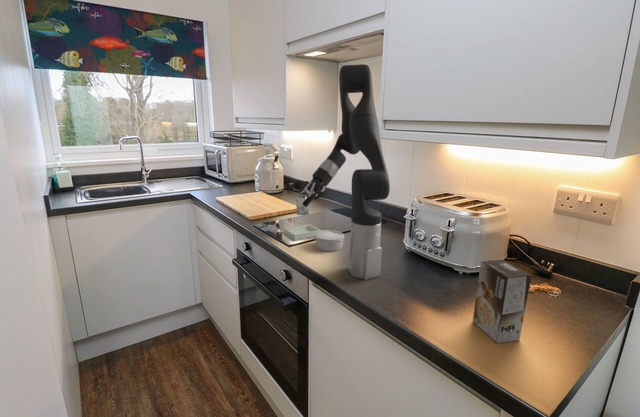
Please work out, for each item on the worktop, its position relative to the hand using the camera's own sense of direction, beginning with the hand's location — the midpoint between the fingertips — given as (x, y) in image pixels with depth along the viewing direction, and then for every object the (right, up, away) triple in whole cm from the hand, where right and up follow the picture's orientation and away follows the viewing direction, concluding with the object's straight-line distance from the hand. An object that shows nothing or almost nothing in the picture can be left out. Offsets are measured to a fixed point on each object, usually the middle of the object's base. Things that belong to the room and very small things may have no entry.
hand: (300, 204), depth 140 cm
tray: (0, -13, +4) cm, 14 cm away
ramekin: (+11, -17, -9) cm, 22 cm away
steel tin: (+1, -4, +2) cm, 4 cm away
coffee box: (+49, -31, -59) cm, 82 cm away
